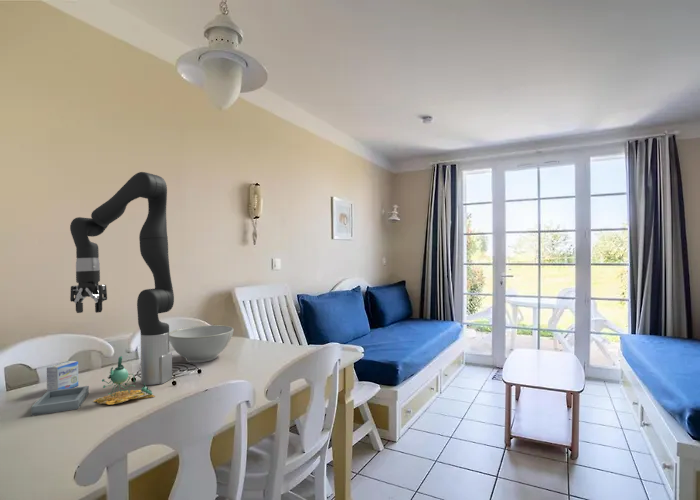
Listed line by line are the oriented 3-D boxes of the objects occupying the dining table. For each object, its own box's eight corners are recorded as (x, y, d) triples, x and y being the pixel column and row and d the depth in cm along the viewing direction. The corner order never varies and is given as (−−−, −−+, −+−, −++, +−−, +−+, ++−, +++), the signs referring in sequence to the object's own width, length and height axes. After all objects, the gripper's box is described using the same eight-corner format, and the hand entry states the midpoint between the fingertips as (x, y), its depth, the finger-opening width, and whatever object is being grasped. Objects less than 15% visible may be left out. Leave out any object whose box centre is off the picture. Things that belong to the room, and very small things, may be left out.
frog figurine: (144, 406, 114) (137, 357, 114) (84, 414, 114) (77, 365, 114) (159, 394, 123) (154, 348, 123) (104, 401, 123) (98, 356, 123)
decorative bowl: (246, 355, 170) (246, 328, 170) (193, 371, 148) (193, 340, 148) (208, 348, 185) (208, 323, 185) (154, 361, 162) (154, 333, 162)
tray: (88, 393, 125) (88, 385, 125) (78, 408, 112) (78, 400, 112) (47, 399, 120) (47, 391, 120) (31, 415, 108) (31, 406, 108)
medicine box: (57, 394, 125) (57, 367, 125) (46, 393, 126) (46, 367, 126) (78, 385, 133) (78, 361, 133) (68, 385, 134) (68, 360, 134)
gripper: (111, 269, 147) (113, 310, 147) (81, 270, 150) (82, 311, 150) (95, 269, 140) (96, 313, 139) (63, 271, 143) (64, 314, 142)
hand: (89, 312), depth 145 cm, fingers open, 8 cm apart
